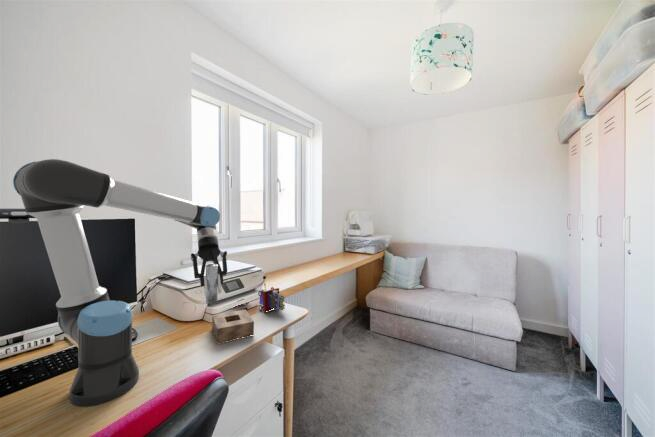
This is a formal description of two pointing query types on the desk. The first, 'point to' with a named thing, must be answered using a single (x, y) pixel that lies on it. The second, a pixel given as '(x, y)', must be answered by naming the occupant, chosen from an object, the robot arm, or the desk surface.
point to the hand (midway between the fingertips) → (213, 292)
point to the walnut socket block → (232, 325)
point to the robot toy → (270, 299)
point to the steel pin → (211, 283)
